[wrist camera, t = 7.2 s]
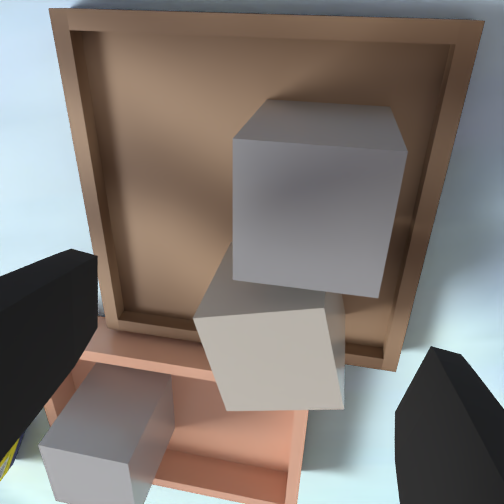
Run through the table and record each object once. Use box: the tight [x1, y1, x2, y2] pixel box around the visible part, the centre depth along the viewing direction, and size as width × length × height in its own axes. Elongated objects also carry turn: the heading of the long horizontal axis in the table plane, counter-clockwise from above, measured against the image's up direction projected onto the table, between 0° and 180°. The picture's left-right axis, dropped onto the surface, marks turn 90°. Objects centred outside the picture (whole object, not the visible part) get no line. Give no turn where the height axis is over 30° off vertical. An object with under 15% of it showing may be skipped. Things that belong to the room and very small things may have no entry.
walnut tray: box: [49, 8, 485, 372], centre depth 17 cm, size 13×13×1 cm
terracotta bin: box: [44, 316, 309, 504], centre depth 22 cm, size 9×13×2 cm
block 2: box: [233, 99, 408, 298], centre depth 13 cm, size 4×4×5 cm
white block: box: [193, 242, 345, 411], centre depth 16 cm, size 4×4×5 cm
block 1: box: [38, 362, 175, 504], centre depth 21 cm, size 4×4×5 cm
